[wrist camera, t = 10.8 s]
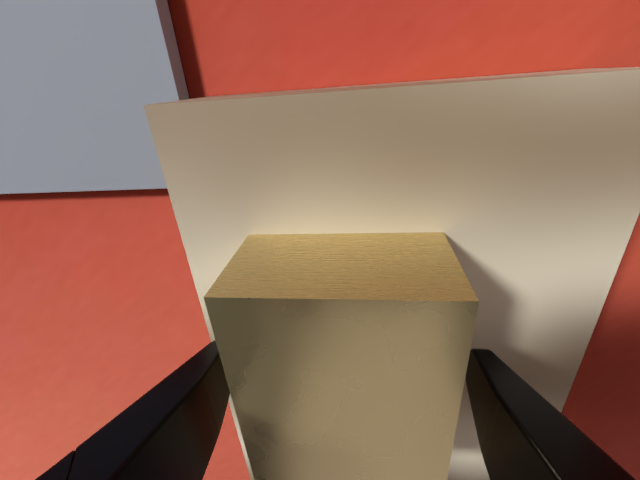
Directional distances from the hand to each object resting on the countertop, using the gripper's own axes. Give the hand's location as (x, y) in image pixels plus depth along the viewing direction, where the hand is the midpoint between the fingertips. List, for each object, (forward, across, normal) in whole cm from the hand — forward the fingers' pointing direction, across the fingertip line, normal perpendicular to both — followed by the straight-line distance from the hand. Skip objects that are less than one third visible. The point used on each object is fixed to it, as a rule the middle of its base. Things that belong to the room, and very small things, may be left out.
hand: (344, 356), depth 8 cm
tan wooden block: (+1, 0, 0) cm, 1 cm away
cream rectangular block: (+4, -1, +2) cm, 4 cm away
